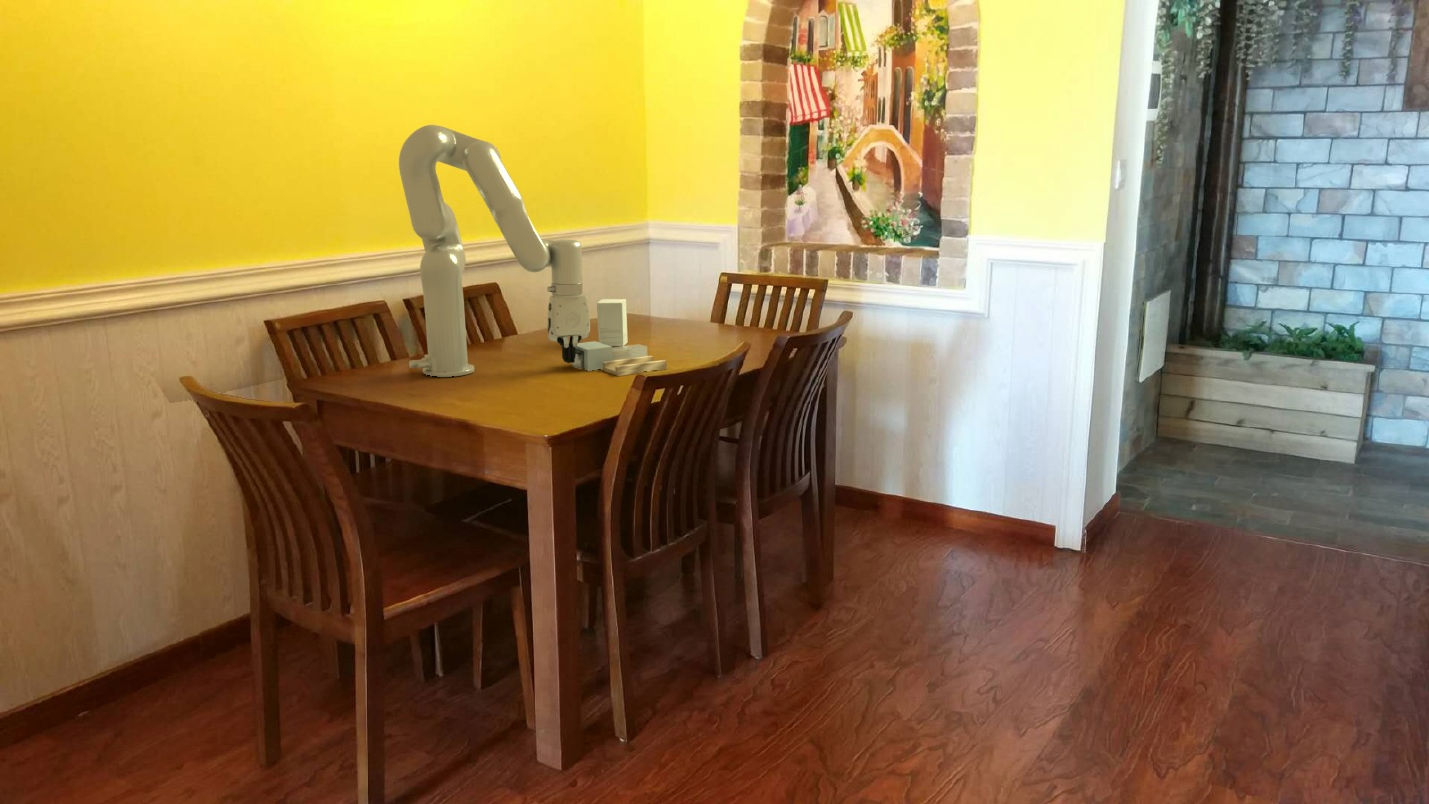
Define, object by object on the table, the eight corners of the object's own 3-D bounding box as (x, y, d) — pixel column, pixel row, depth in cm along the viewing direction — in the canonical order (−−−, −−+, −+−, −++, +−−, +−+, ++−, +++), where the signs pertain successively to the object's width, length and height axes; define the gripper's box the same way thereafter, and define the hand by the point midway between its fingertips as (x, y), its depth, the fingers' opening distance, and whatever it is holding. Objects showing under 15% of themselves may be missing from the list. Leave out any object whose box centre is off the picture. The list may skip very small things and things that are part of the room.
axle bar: (581, 370, 264) (580, 355, 263) (573, 368, 267) (572, 352, 266) (647, 361, 275) (647, 346, 274) (639, 358, 278) (639, 344, 277)
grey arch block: (588, 371, 262) (587, 349, 260) (571, 364, 269) (570, 344, 268) (612, 367, 265) (612, 346, 264) (595, 361, 273) (595, 341, 272)
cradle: (618, 376, 256) (617, 367, 255) (602, 370, 262) (602, 361, 262) (666, 369, 263) (666, 360, 263) (650, 363, 270) (650, 355, 269)
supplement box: (628, 342, 300) (627, 298, 297) (623, 347, 293) (622, 302, 290) (603, 341, 301) (601, 298, 298) (597, 346, 294) (596, 302, 291)
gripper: (546, 293, 252) (548, 367, 256) (601, 289, 260) (602, 361, 265) (533, 290, 258) (535, 362, 263) (587, 286, 266) (588, 356, 271)
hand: (569, 361), depth 263 cm, fingers closed
